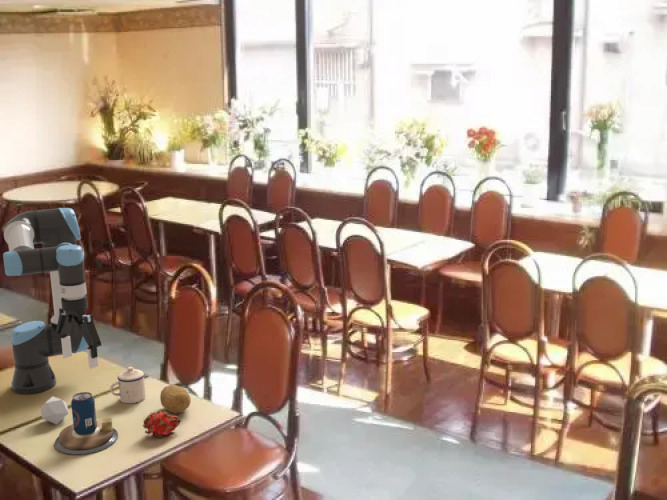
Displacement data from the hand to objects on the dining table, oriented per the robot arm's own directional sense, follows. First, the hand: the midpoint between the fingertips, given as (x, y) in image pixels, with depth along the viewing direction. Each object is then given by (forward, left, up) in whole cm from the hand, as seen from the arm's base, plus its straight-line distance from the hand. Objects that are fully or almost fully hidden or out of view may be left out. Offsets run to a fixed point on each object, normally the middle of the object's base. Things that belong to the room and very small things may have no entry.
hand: (80, 362), depth 250 cm
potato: (+8, +29, -25) cm, 40 cm away
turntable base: (+2, -2, -25) cm, 25 cm away
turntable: (+2, -2, -25) cm, 25 cm away
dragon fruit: (+18, +15, -25) cm, 35 cm away
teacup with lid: (-12, +25, -25) cm, 38 cm away
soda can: (+2, -2, -23) cm, 23 cm away
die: (-18, 0, -25) cm, 31 cm away
